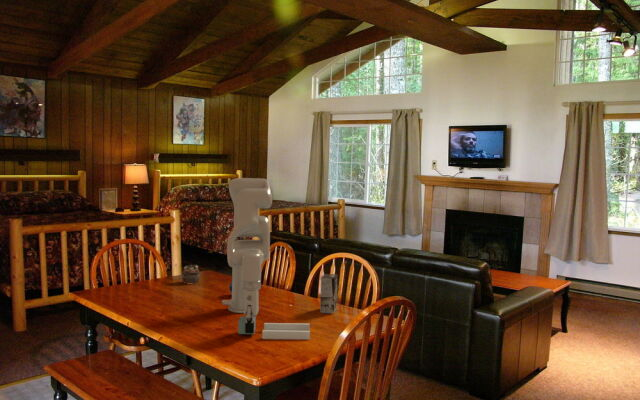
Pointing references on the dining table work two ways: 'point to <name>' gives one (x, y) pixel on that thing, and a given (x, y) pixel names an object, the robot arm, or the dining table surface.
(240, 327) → the block
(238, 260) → the robot arm
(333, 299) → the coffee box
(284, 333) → the trough
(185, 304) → the dining table surface
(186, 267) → the cupcake
